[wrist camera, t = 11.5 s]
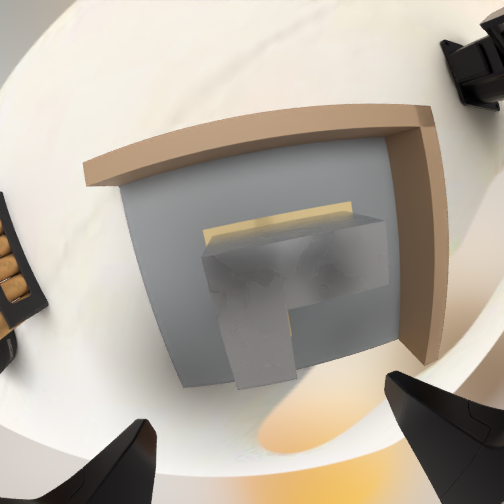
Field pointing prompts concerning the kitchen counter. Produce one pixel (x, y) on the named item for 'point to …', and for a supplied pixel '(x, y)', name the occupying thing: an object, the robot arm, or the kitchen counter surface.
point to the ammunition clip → (15, 279)
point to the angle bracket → (286, 283)
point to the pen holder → (7, 350)
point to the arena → (286, 209)
